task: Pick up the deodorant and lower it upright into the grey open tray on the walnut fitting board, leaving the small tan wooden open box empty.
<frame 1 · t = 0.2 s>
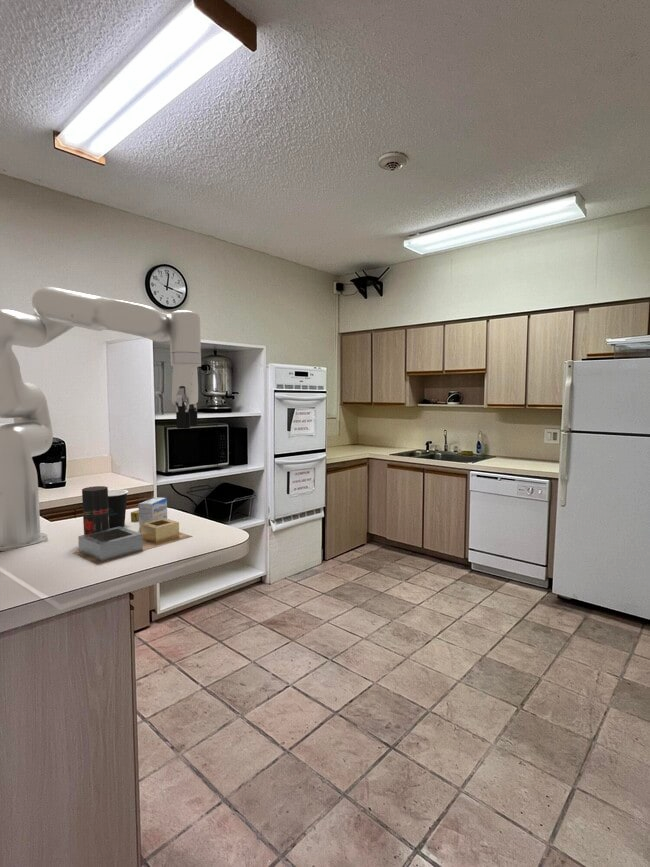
hand: (187, 426, 122), 31 cm above the counter, tool pointing down, fingers open, 9 cm apart
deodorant: (97, 545, 122), on the counter
tan wooden open box: (160, 537, 125), resting on fitting board
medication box: (148, 520, 146), on the counter
medicine box: (153, 530, 136), on the counter
dixie cup: (114, 530, 136), on the counter
fitting board: (136, 548, 119), on the counter
grey open tray: (111, 551, 114), resting on fitting board
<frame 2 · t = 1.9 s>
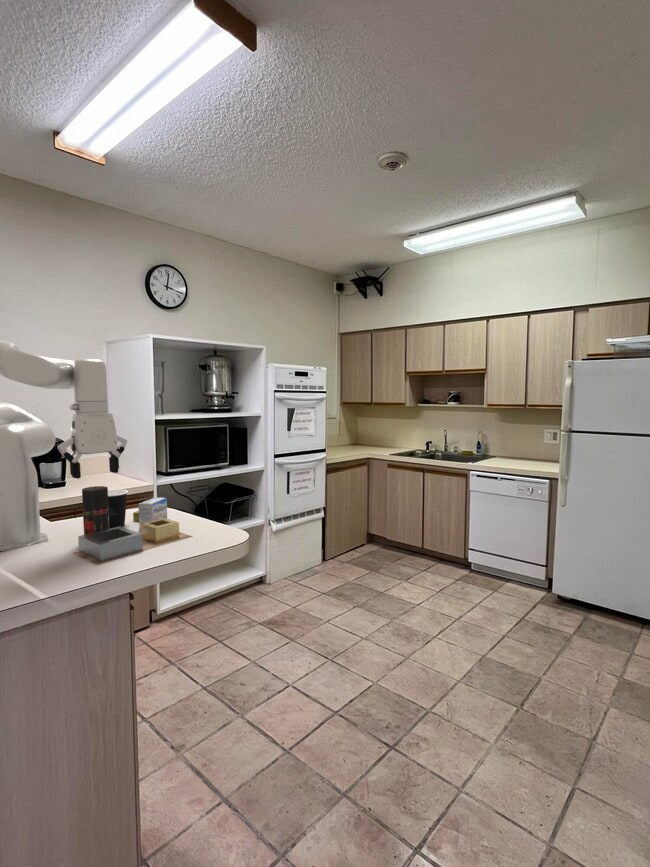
hand: (95, 475, 120), 19 cm above the counter, tool pointing down, fingers open, 9 cm apart
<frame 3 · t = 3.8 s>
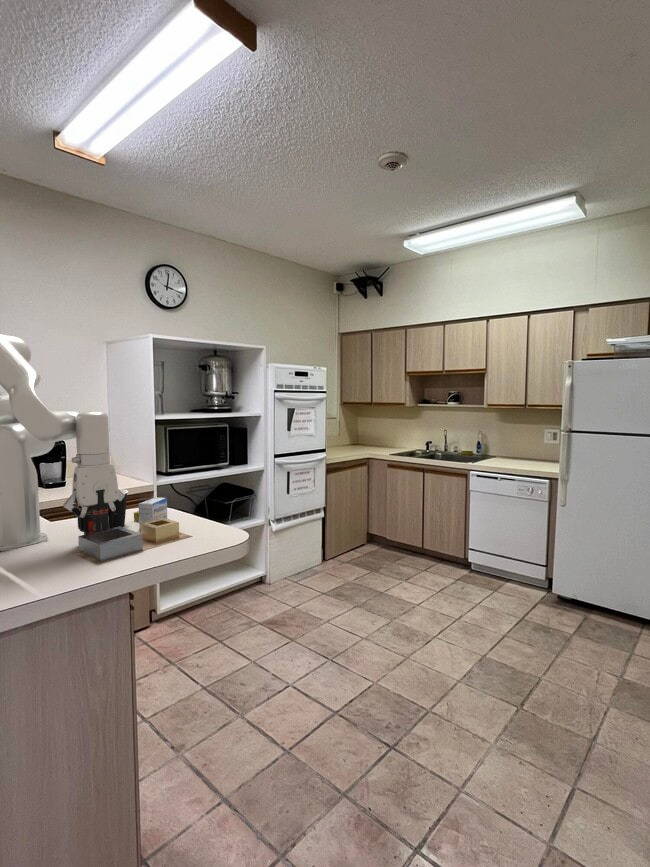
hand: (96, 527, 121), 5 cm above the counter, tool pointing down, fingers closed on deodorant, 5 cm apart
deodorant: (97, 545, 122), on the counter, touching gripper
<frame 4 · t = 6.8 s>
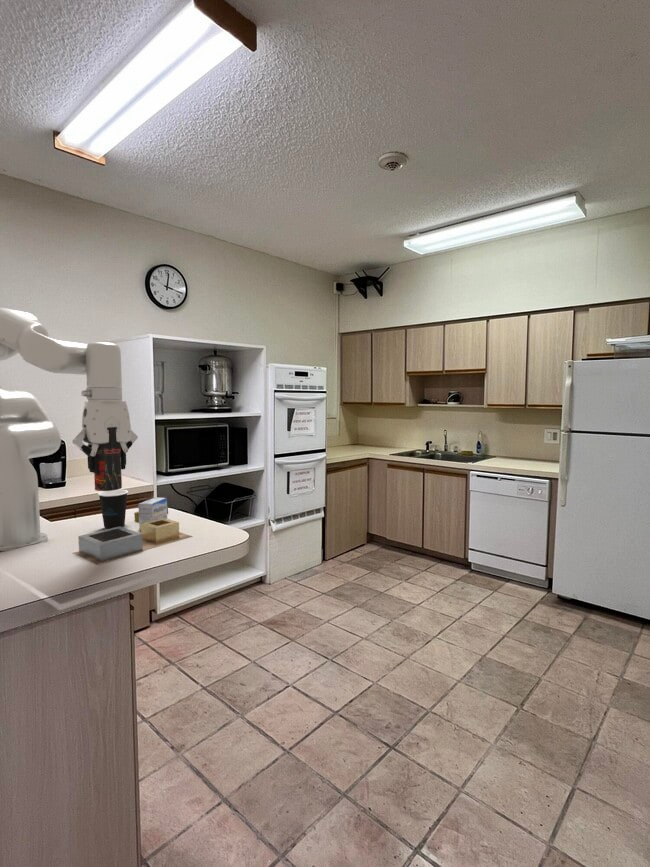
hand: (107, 469, 112), 21 cm above the counter, tool pointing down, fingers closed on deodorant, 5 cm apart
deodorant: (108, 489, 113), point 16 cm above the counter, touching gripper
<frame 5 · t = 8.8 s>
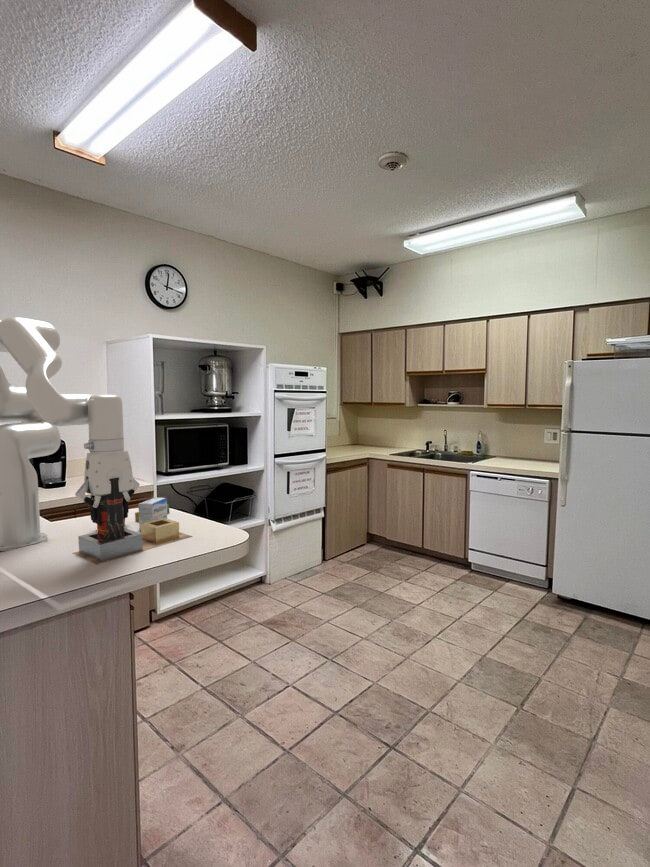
hand: (110, 519, 113), 9 cm above the counter, tool pointing down, fingers closed on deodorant, 5 cm apart
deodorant: (111, 538, 114), point 4 cm above the counter, touching gripper
when the fingers open (7 cm above the counter, at t = 9.8 s): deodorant drops 1 cm, resting on fitting board.
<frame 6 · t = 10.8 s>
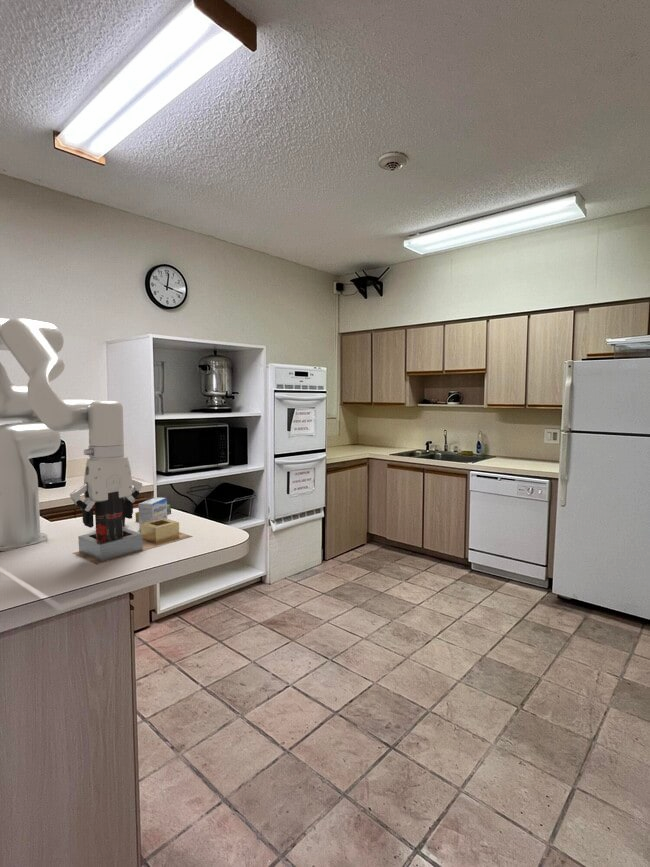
hand: (108, 521, 114), 8 cm above the counter, tool pointing down, fingers open, 9 cm apart
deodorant: (110, 551, 114), point 1 cm above the counter, touching fitting board
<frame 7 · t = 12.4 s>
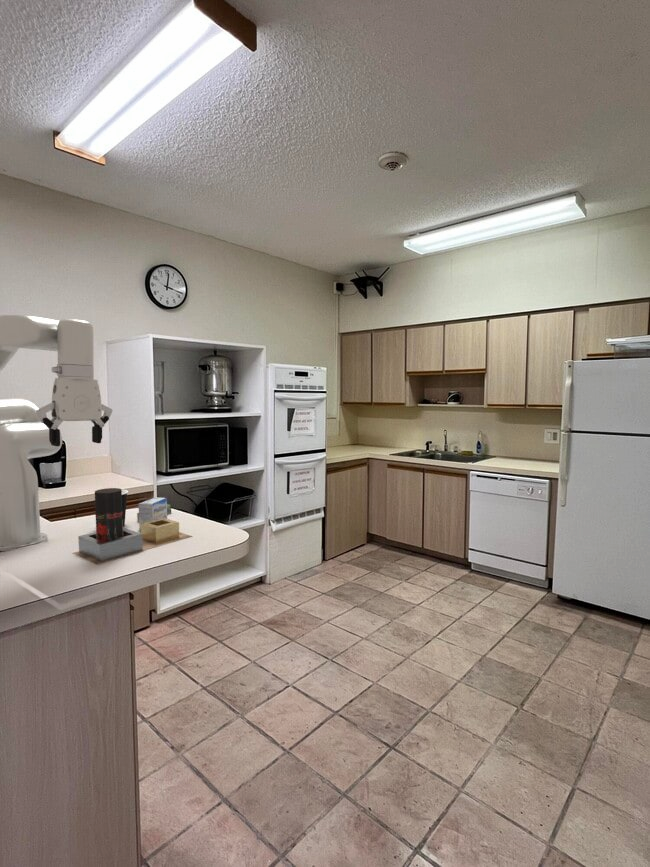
hand: (76, 444, 113), 27 cm above the counter, tool pointing down, fingers open, 9 cm apart
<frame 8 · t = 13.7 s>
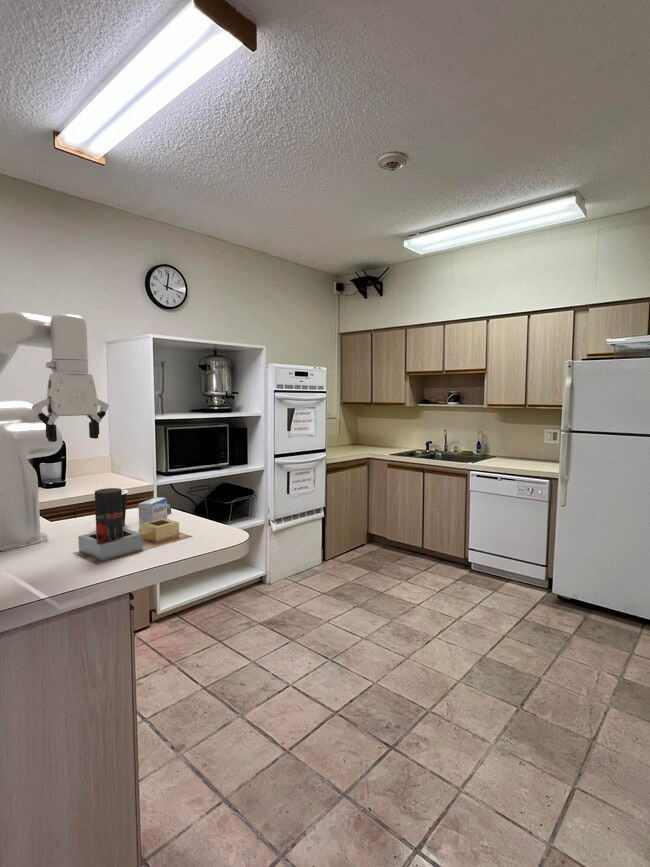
hand: (73, 439, 112), 28 cm above the counter, tool pointing down, fingers open, 9 cm apart
at the end: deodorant 0.2 cm off-centre on the grey open tray, point 0.0 cm above the grey open tray's base; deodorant tilted 0°; the gripper is holding nothing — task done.
